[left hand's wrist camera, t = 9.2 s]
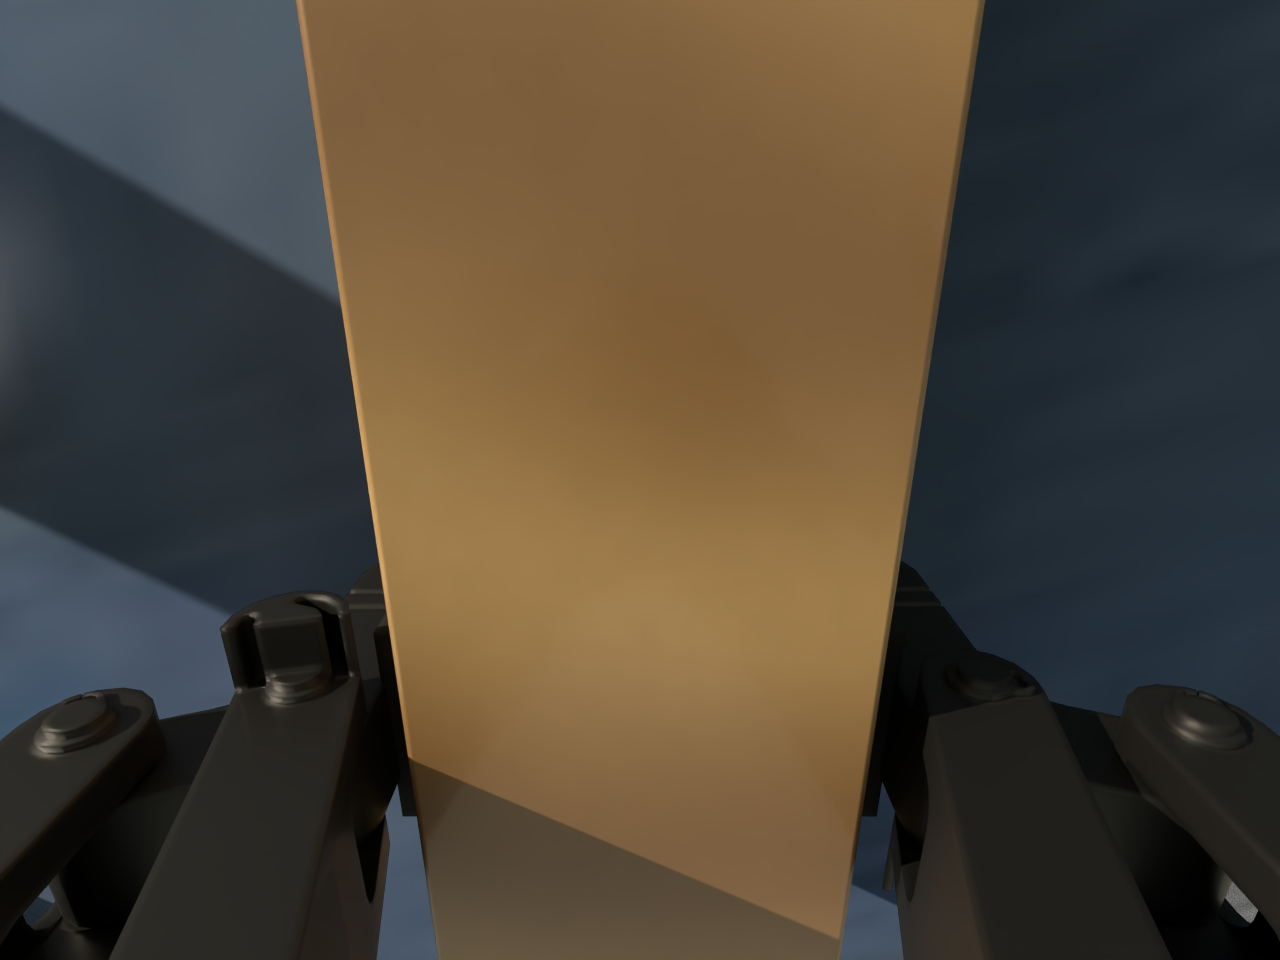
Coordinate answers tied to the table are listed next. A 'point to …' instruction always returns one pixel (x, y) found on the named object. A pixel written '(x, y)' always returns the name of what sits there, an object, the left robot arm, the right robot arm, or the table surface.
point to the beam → (639, 437)
